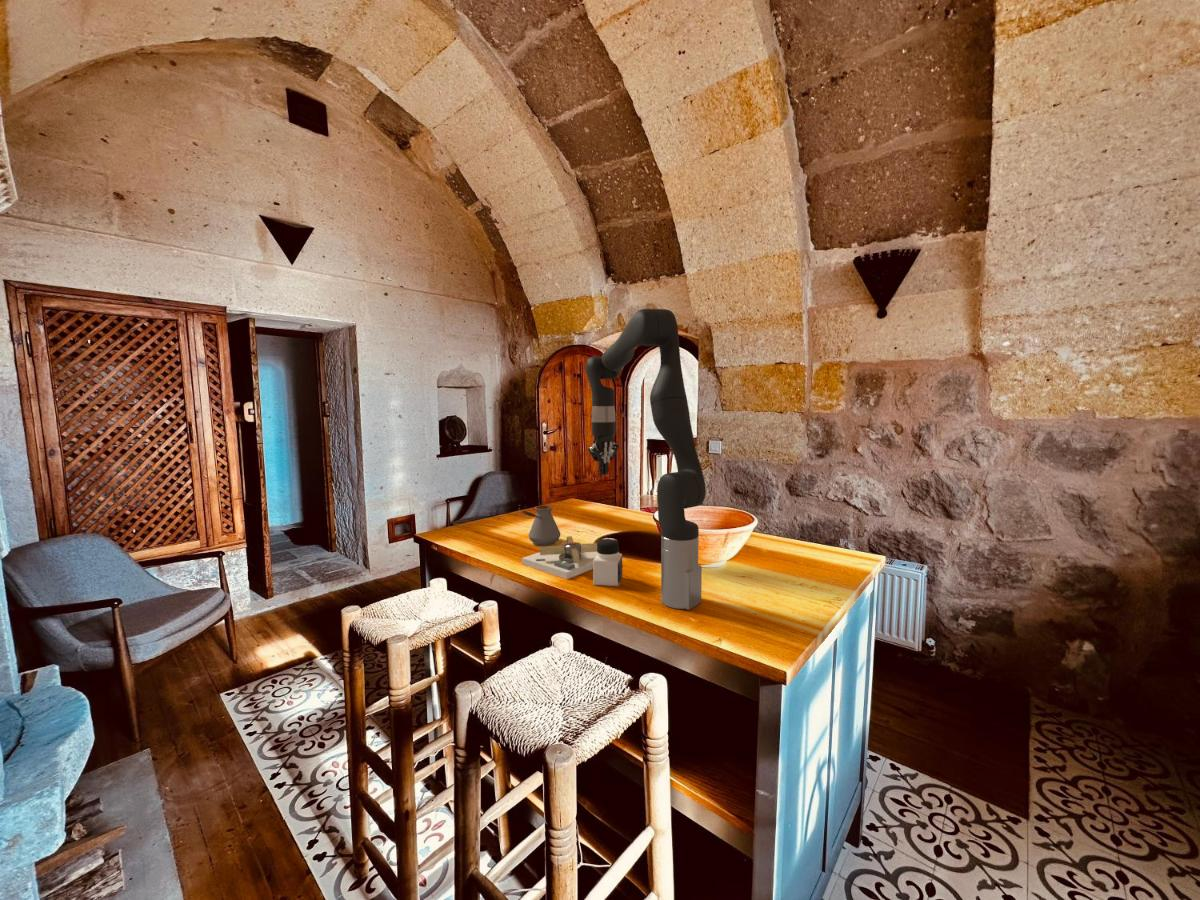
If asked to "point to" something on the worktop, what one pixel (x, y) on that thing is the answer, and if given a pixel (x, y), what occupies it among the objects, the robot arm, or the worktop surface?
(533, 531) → the coffee pot
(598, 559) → the medicine bottle
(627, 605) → the worktop surface
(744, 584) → the worktop surface
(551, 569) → the board
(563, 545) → the cam capstan
